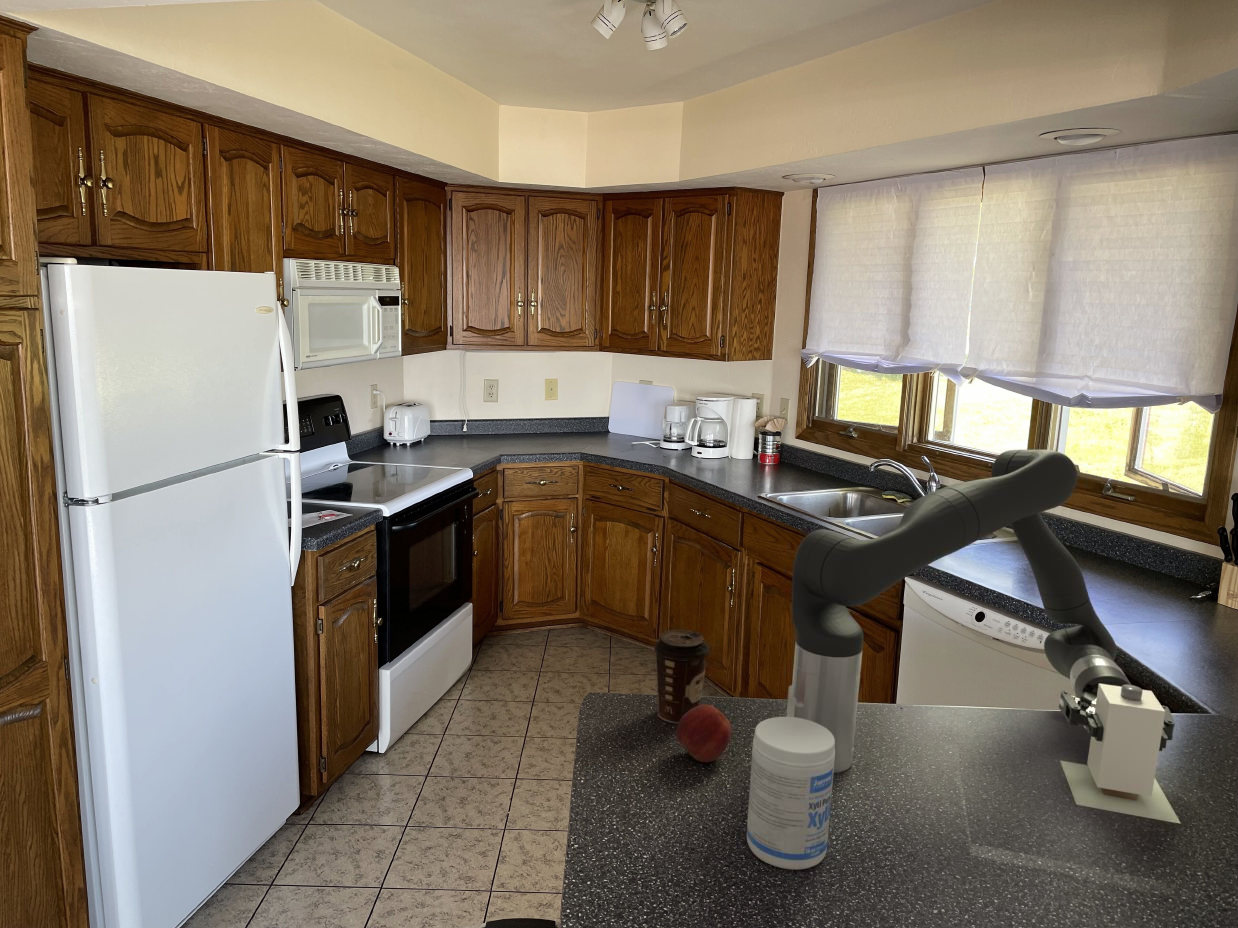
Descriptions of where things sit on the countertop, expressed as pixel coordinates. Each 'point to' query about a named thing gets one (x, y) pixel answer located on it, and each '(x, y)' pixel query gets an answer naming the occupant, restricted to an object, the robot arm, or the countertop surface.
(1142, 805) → the mat
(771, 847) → the supplement tub
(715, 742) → the apple
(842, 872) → the countertop surface
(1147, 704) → the cover
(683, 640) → the coffee cup
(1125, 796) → the block
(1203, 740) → the countertop surface
